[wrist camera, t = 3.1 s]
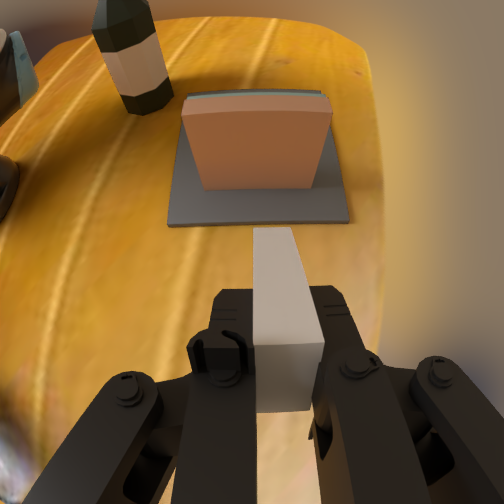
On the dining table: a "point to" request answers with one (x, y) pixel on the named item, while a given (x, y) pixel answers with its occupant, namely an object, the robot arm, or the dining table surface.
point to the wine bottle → (132, 54)
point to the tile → (257, 138)
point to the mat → (256, 191)
